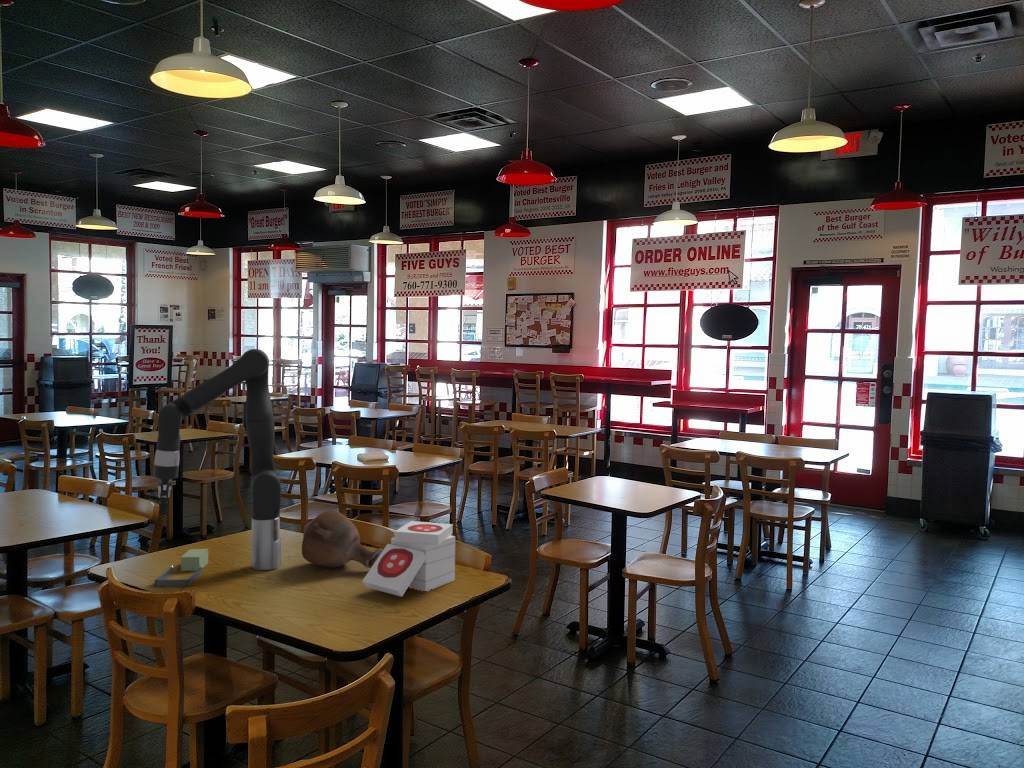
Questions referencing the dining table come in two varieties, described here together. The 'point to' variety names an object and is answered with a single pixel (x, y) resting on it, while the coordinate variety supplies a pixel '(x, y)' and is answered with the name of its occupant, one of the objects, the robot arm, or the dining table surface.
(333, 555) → the jug
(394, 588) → the pizza boxes
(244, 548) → the dining table surface
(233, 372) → the robot arm
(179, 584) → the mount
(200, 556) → the pale green block
